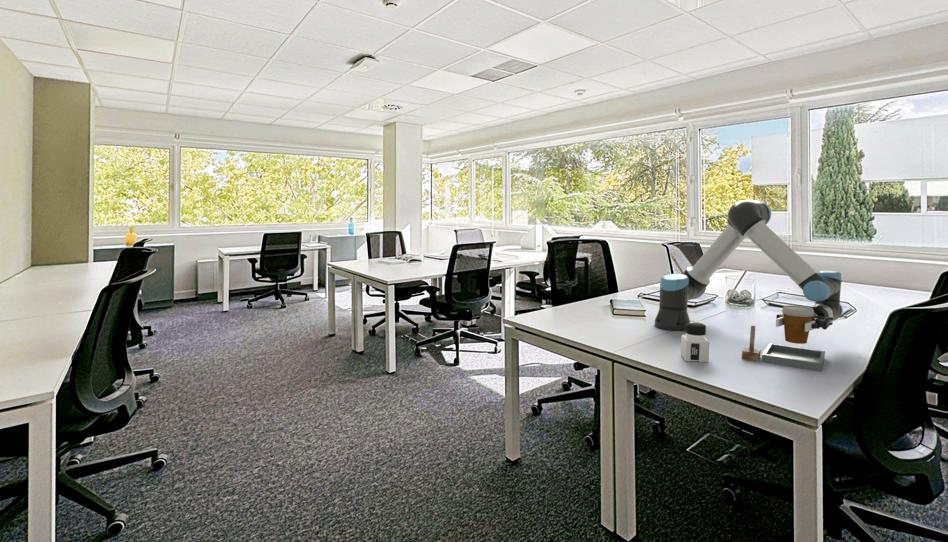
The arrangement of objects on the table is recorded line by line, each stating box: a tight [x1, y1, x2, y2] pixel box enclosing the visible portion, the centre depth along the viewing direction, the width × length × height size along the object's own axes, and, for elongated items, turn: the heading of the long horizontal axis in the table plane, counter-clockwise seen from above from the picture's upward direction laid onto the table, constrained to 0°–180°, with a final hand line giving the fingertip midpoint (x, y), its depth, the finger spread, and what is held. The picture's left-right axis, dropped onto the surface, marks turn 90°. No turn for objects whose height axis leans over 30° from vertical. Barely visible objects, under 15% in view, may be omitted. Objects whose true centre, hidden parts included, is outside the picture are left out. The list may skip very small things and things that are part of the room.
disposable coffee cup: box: [781, 304, 815, 345], centre depth 165 cm, size 10×10×12 cm
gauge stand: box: [741, 324, 761, 362], centre depth 168 cm, size 5×5×12 cm
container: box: [680, 321, 711, 363], centre depth 169 cm, size 8×8×13 cm
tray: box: [761, 342, 826, 372], centre depth 167 cm, size 17×17×3 cm
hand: (791, 325), depth 162 cm, fingers closed on disposable coffee cup, 8 cm apart
